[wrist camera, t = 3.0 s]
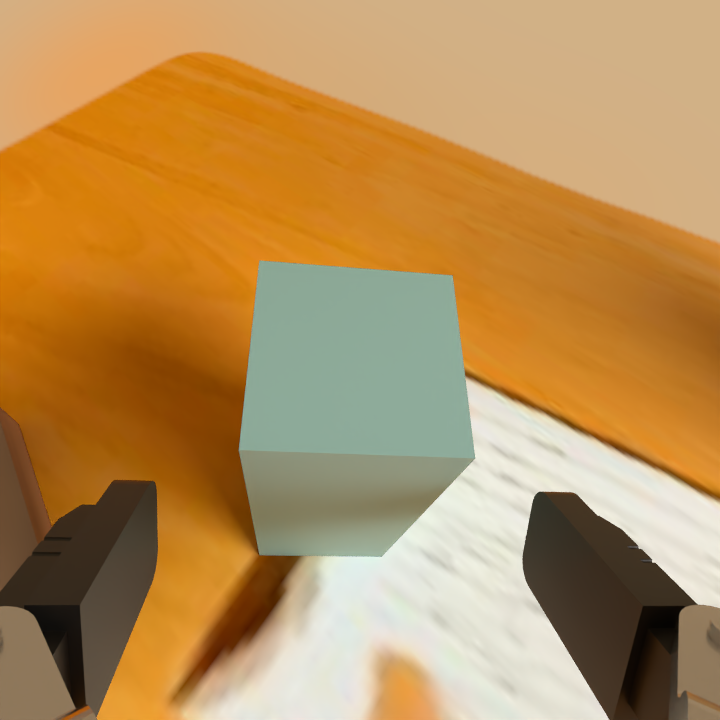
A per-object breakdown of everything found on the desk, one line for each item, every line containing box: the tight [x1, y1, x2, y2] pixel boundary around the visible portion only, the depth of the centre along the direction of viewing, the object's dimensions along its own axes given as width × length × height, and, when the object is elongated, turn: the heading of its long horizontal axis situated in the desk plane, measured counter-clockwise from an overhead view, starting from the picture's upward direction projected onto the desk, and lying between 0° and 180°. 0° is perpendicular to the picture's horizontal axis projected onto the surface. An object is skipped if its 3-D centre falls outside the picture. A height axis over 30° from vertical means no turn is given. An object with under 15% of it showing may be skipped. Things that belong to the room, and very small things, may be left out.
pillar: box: [239, 261, 475, 557], centre depth 16 cm, size 4×4×11 cm
